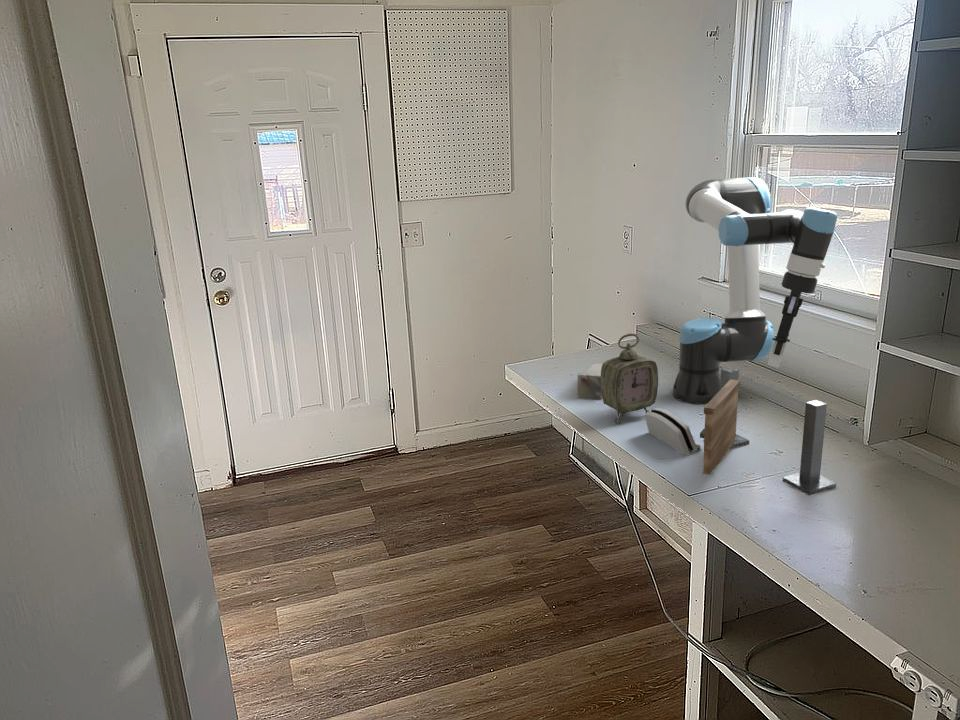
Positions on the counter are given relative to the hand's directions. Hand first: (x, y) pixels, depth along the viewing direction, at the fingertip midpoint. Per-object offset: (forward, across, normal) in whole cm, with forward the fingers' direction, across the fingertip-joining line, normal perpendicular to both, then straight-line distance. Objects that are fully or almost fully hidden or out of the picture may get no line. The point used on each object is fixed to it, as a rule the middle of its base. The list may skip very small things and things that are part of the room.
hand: (773, 365), depth 186 cm
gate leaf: (+23, -12, +6) cm, 27 cm away
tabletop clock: (+29, +9, +34) cm, 45 cm away
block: (+31, +29, +49) cm, 65 cm away
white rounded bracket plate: (+27, -4, +18) cm, 33 cm away
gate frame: (+22, -8, -5) cm, 24 cm away
